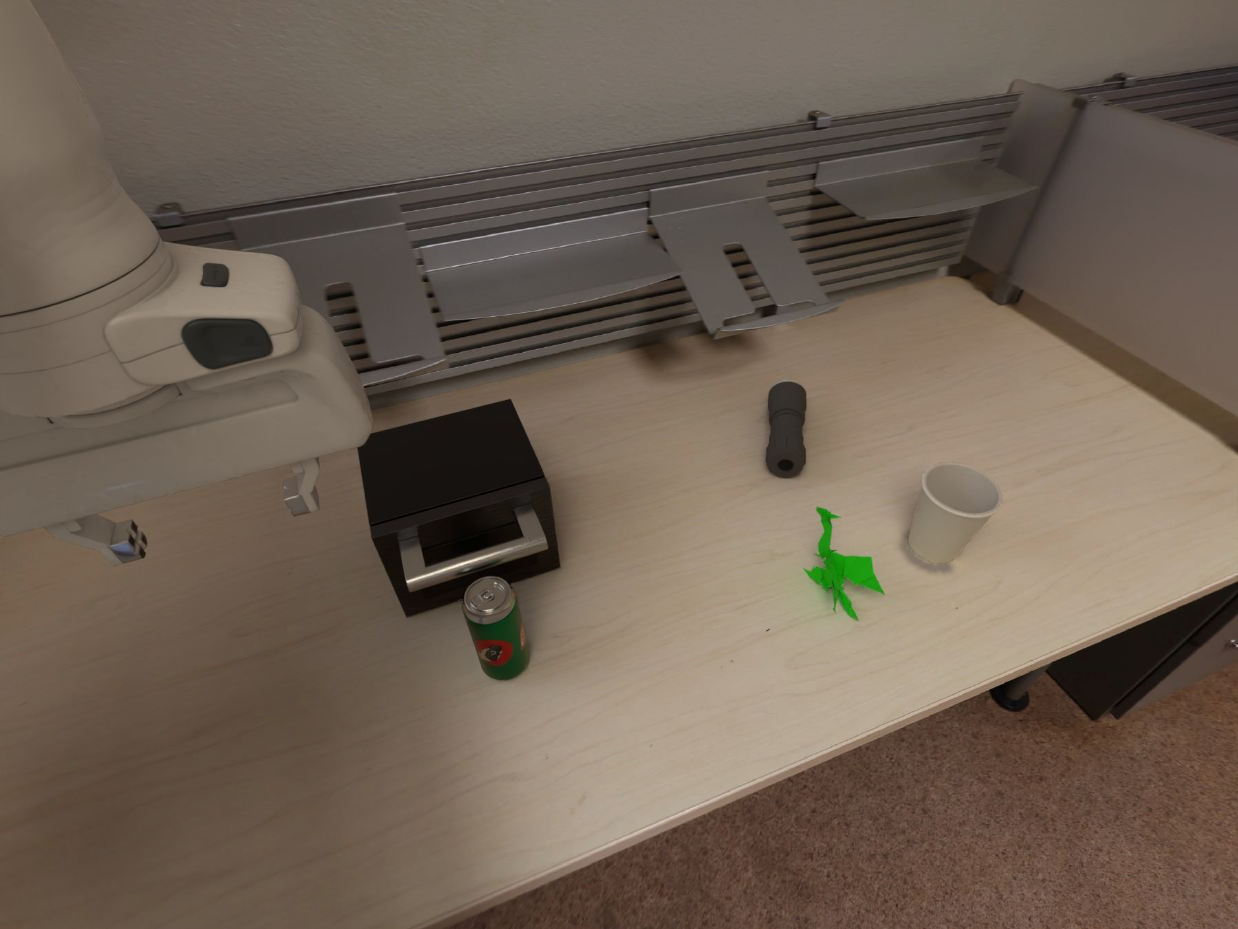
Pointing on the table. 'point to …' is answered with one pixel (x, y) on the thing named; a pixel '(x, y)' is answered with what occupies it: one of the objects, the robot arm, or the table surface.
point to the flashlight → (786, 428)
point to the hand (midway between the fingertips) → (222, 529)
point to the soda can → (496, 627)
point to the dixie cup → (951, 510)
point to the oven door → (468, 545)
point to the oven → (445, 461)
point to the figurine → (841, 567)
